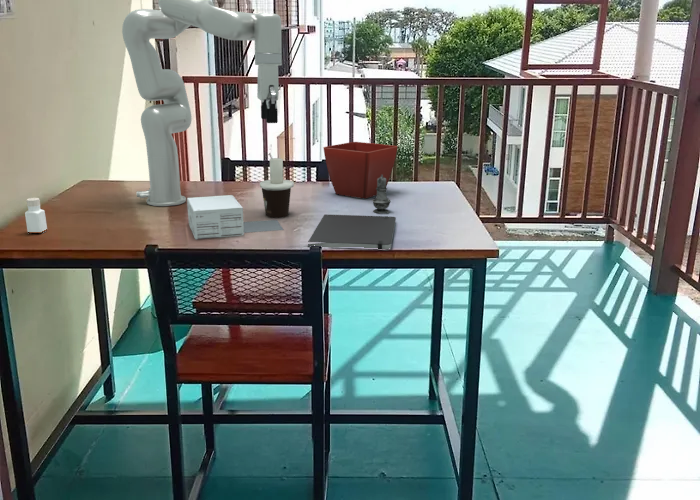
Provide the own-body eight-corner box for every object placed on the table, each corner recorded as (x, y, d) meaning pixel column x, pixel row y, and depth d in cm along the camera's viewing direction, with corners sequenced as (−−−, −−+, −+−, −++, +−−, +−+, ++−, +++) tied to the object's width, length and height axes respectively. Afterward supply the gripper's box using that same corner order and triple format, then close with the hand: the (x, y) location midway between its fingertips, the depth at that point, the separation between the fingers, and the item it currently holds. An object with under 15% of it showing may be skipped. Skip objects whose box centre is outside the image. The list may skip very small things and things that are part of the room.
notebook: (324, 221, 195) (308, 249, 168) (324, 213, 194) (307, 241, 167) (395, 223, 192) (390, 252, 166) (396, 216, 192) (391, 244, 165)
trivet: (243, 237, 175) (243, 232, 175) (239, 227, 185) (238, 222, 185) (283, 235, 178) (283, 229, 178) (277, 224, 188) (276, 219, 188)
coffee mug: (290, 223, 189) (289, 190, 186) (260, 223, 190) (259, 190, 187) (294, 213, 201) (293, 182, 198) (266, 213, 201) (265, 181, 198)
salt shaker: (34, 230, 181) (29, 197, 178) (48, 230, 181) (43, 197, 178) (27, 234, 177) (21, 200, 174) (41, 234, 177) (36, 200, 174)
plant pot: (353, 186, 241) (354, 140, 236) (397, 192, 230) (398, 145, 225) (322, 195, 226) (321, 147, 221) (367, 202, 215) (368, 152, 210)
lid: (262, 190, 186) (261, 162, 184) (257, 183, 195) (256, 157, 193) (296, 188, 189) (296, 161, 186) (290, 181, 198) (289, 155, 196)
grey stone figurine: (394, 211, 204) (395, 174, 200) (382, 215, 200) (383, 176, 196) (380, 208, 208) (380, 171, 204) (368, 211, 204) (368, 174, 200)
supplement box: (245, 241, 173) (243, 207, 170) (195, 245, 169) (192, 210, 166) (234, 225, 188) (233, 193, 186) (188, 228, 184) (186, 196, 181)
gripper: (251, 58, 190) (252, 117, 195) (259, 60, 174) (260, 124, 179) (276, 58, 192) (277, 117, 197) (286, 61, 176) (287, 124, 181)
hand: (269, 120), depth 188 cm, fingers open, 9 cm apart
